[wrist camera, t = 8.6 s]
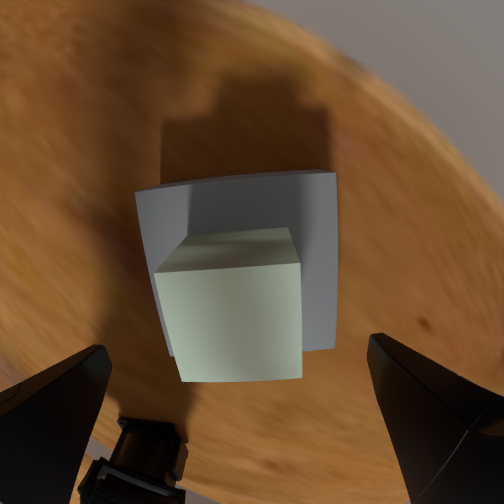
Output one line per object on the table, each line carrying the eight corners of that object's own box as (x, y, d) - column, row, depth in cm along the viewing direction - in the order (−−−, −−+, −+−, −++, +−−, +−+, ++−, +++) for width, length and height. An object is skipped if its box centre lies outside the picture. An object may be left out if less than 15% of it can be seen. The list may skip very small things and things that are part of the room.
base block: (184, 323, 21) (170, 356, 17) (159, 184, 18) (134, 192, 14) (323, 315, 20) (334, 348, 17) (320, 169, 17) (335, 172, 13)
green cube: (202, 322, 16) (181, 381, 11) (186, 235, 15) (153, 273, 10) (291, 316, 16) (301, 377, 11) (287, 227, 14) (300, 262, 10)
